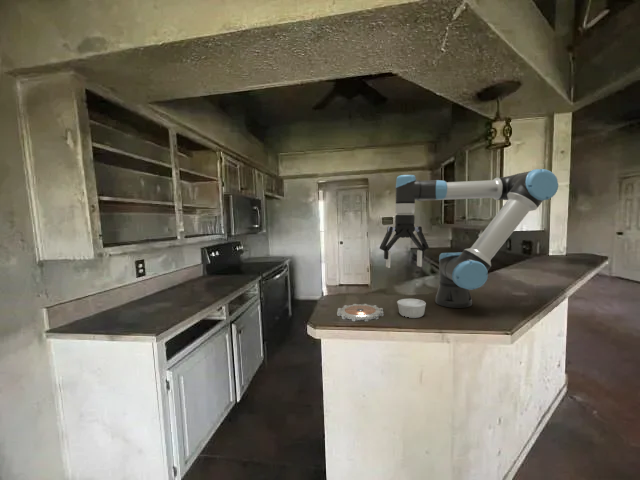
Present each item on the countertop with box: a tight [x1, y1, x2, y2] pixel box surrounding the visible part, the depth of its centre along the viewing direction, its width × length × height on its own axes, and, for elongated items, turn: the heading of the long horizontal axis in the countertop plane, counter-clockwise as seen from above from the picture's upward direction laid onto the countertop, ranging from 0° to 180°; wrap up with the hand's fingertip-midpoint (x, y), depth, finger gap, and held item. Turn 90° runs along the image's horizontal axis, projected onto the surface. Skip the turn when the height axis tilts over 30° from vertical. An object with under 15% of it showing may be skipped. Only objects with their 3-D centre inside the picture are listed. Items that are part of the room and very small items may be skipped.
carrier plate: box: [336, 303, 385, 322], centre depth 133 cm, size 19×19×2 cm
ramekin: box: [396, 298, 427, 319], centre depth 129 cm, size 11×11×5 cm
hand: (403, 266), depth 128 cm, fingers open, 13 cm apart
